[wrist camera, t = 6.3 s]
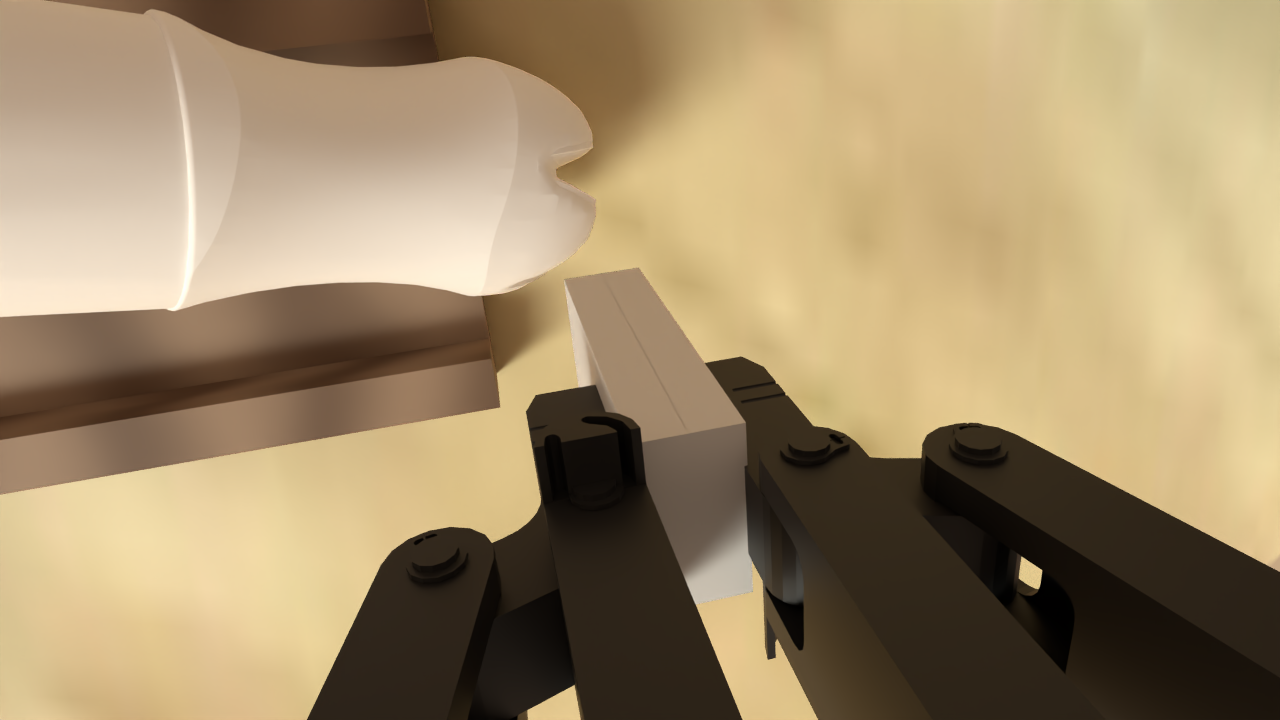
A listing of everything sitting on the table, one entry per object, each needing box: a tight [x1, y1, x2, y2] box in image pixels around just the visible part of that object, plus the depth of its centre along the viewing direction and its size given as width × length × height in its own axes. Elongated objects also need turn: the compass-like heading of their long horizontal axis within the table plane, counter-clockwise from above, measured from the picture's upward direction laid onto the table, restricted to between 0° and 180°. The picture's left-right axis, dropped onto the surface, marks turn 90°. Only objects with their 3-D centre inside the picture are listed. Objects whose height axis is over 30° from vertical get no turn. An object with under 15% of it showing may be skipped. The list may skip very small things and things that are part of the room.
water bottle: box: [0, 0, 596, 317], centre depth 19 cm, size 7×7×25 cm
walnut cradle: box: [0, 0, 500, 495], centre depth 27 cm, size 24×15×3 cm, turn 95°
